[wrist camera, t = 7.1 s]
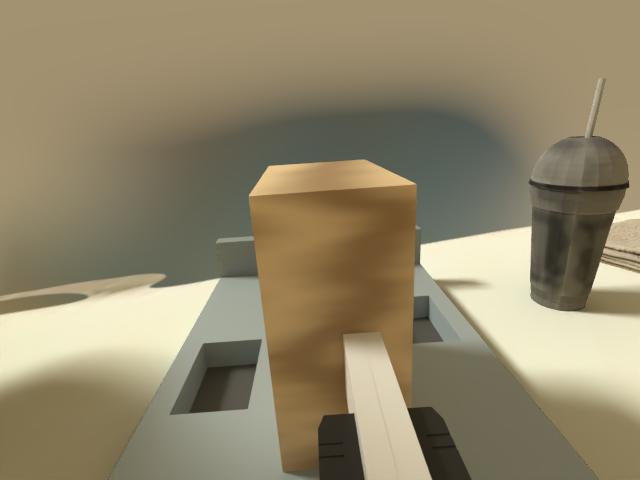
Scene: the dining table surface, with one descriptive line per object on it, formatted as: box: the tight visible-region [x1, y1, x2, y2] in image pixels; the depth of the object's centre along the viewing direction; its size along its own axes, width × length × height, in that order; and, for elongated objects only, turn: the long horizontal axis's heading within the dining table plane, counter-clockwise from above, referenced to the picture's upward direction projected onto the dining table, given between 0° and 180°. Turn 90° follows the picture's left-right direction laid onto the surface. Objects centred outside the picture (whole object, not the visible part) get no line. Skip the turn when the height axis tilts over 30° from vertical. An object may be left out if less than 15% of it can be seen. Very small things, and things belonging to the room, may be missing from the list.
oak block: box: [249, 160, 417, 472], centre depth 19 cm, size 6×10×13 cm, turn 4°
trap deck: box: [108, 225, 599, 480], centre depth 25 cm, size 22×32×6 cm
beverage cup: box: [529, 78, 629, 311], centre depth 32 cm, size 7×7×20 cm
